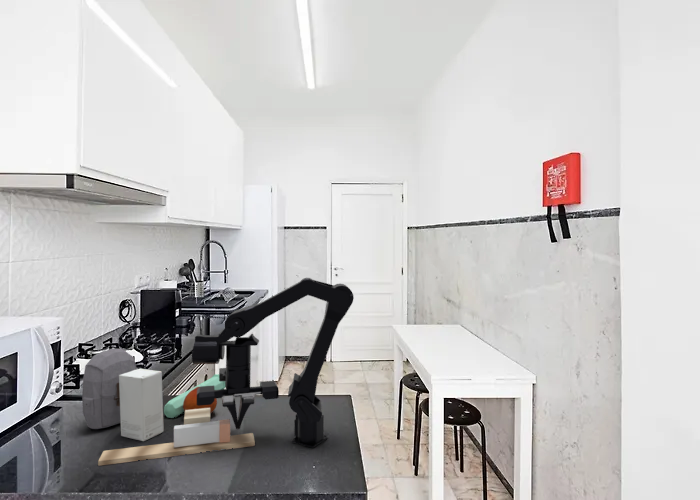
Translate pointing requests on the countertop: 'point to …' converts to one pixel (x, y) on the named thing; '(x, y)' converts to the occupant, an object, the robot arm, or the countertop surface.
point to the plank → (171, 450)
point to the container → (176, 404)
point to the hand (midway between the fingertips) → (237, 428)
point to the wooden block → (197, 416)
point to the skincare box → (141, 404)
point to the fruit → (191, 402)
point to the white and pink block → (202, 433)
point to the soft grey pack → (104, 387)
